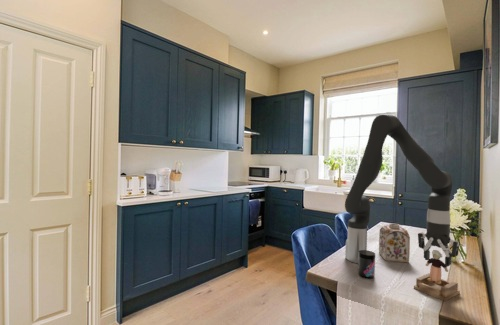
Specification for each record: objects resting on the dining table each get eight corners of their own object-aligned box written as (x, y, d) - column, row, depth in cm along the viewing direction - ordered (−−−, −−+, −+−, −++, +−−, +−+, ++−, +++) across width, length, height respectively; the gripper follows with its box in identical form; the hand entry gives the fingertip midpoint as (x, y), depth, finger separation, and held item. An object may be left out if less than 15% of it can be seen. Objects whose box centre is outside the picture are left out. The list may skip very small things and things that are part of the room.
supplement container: (359, 278, 113) (360, 254, 113) (356, 272, 120) (357, 249, 120) (376, 280, 112) (377, 256, 112) (372, 273, 118) (373, 250, 118)
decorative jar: (409, 263, 132) (410, 227, 132) (384, 260, 134) (385, 226, 134) (401, 254, 144) (402, 222, 143) (378, 252, 146) (379, 220, 146)
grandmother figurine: (423, 280, 105) (424, 248, 105) (425, 277, 108) (426, 246, 108) (447, 287, 100) (448, 254, 100) (448, 283, 102) (449, 251, 102)
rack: (413, 288, 105) (414, 278, 105) (428, 281, 112) (429, 272, 111) (445, 301, 96) (445, 290, 96) (459, 293, 102) (460, 283, 102)
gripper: (414, 218, 108) (412, 258, 108) (455, 226, 95) (454, 271, 95) (423, 216, 112) (422, 255, 112) (464, 224, 99) (463, 267, 99)
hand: (437, 262), depth 104 cm, fingers closed on grandmother figurine, 6 cm apart
